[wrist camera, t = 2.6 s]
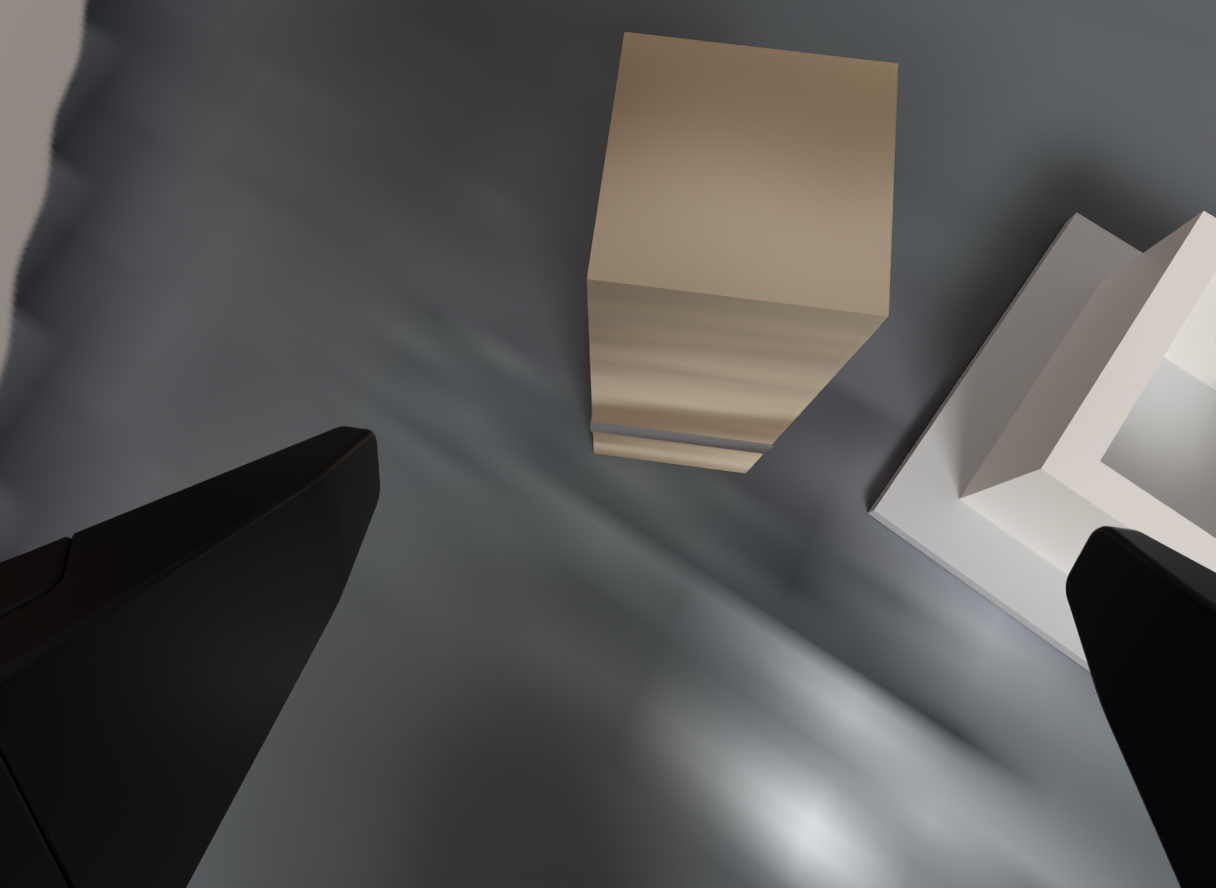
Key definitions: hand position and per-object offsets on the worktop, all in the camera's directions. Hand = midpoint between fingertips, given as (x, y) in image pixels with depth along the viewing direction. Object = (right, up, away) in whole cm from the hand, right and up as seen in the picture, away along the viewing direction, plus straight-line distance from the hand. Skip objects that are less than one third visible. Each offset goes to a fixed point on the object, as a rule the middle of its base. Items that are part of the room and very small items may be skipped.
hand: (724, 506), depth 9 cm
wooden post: (+1, +2, +13) cm, 13 cm away
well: (+14, 0, +12) cm, 19 cm away
